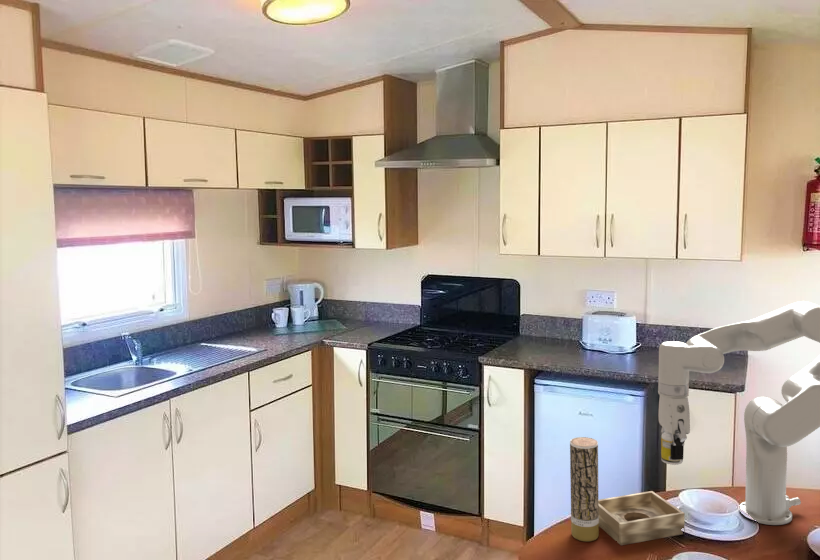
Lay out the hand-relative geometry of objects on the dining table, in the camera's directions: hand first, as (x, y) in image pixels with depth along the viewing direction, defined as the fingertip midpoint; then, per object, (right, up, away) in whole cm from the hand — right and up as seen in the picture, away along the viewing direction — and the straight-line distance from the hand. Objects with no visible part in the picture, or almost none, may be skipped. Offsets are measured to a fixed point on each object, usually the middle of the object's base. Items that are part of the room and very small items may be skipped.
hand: (672, 454), depth 183 cm
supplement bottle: (0, -2, 0) cm, 2 cm away
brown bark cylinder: (-25, -19, -8) cm, 33 cm away
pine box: (-11, -18, -5) cm, 21 cm away
